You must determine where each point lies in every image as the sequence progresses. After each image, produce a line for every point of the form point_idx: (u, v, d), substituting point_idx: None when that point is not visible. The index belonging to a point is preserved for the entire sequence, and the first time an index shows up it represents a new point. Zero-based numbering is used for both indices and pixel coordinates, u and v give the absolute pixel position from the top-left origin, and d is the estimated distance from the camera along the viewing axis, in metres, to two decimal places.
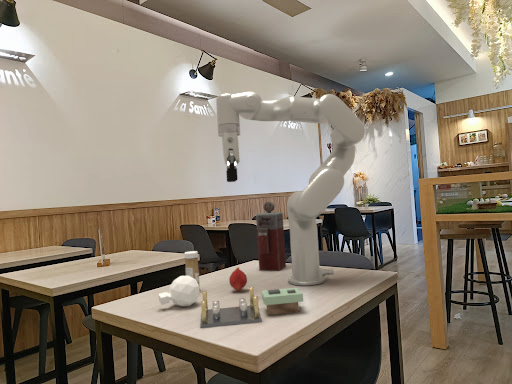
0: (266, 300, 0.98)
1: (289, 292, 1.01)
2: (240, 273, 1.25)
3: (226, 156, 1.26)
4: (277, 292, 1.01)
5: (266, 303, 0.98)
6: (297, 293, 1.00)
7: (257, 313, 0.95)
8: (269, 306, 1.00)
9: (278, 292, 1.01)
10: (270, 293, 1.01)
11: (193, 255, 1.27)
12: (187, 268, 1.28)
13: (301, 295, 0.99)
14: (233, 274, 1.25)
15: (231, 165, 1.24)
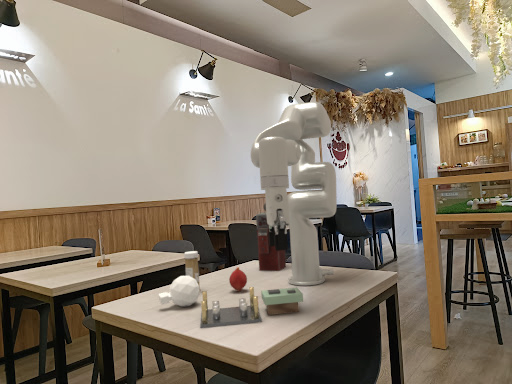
0: (266, 300, 0.98)
1: (289, 292, 1.01)
2: (240, 273, 1.25)
3: (273, 219, 0.97)
4: (277, 292, 1.01)
5: (266, 303, 0.98)
6: (297, 293, 1.00)
7: (257, 313, 0.95)
8: (269, 306, 1.00)
9: (278, 292, 1.01)
10: (270, 293, 1.01)
11: (193, 255, 1.27)
12: (187, 268, 1.28)
13: (301, 295, 0.99)
14: (233, 274, 1.25)
15: (281, 231, 0.96)
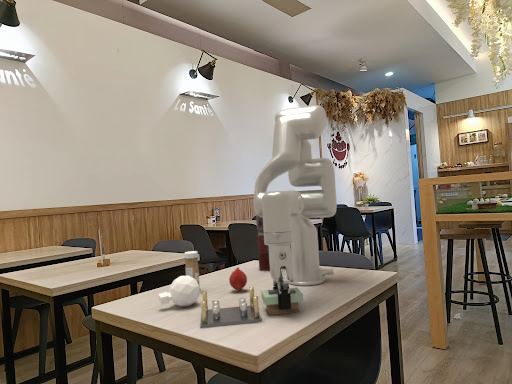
0: (266, 300, 0.98)
1: None
2: (240, 273, 1.25)
3: (277, 276, 0.97)
4: (277, 292, 1.01)
5: (266, 303, 0.98)
6: (297, 293, 1.00)
7: (257, 313, 0.95)
8: (269, 306, 1.00)
9: (278, 292, 1.01)
10: (270, 293, 1.01)
11: (193, 255, 1.27)
12: (187, 268, 1.28)
13: (301, 295, 0.99)
14: (233, 274, 1.25)
15: (284, 292, 0.97)
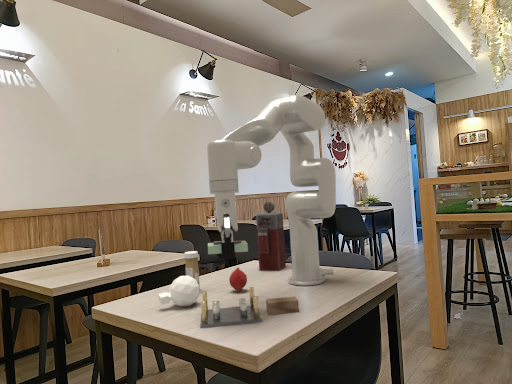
0: (209, 249, 0.96)
1: (234, 242, 0.98)
2: (240, 273, 1.25)
3: (220, 224, 0.95)
4: None
5: (209, 252, 0.96)
6: (242, 243, 0.98)
7: (257, 313, 0.95)
8: (269, 306, 1.00)
9: None
10: (215, 243, 0.98)
11: (193, 255, 1.27)
12: (187, 268, 1.28)
13: (246, 245, 0.97)
14: (233, 274, 1.25)
15: (227, 240, 0.94)
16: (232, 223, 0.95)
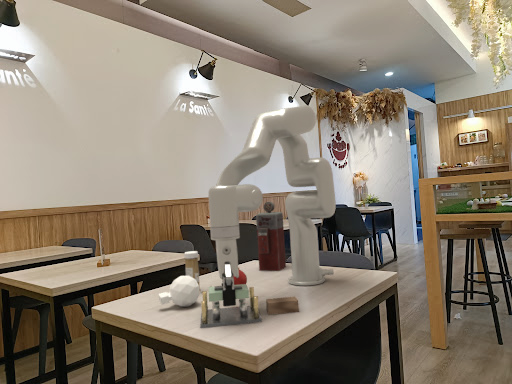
0: (210, 296, 0.96)
1: (235, 288, 0.98)
2: (240, 273, 1.25)
3: (221, 272, 0.95)
4: None
5: (210, 299, 0.96)
6: (243, 289, 0.97)
7: (257, 313, 0.95)
8: (269, 306, 1.00)
9: None
10: (216, 289, 0.98)
11: (193, 255, 1.27)
12: (187, 268, 1.28)
13: (247, 291, 0.97)
14: None
15: (228, 288, 0.94)
16: (233, 271, 0.95)
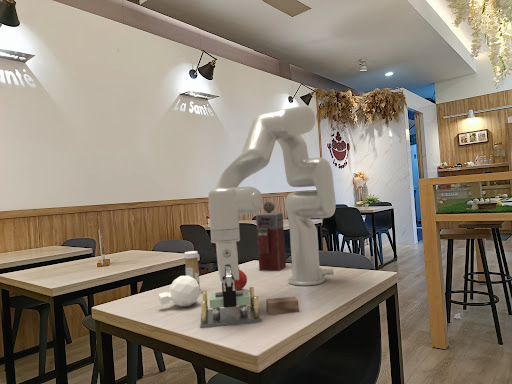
0: (211, 303, 0.96)
1: (236, 295, 0.98)
2: (240, 273, 1.25)
3: (221, 275, 0.95)
4: None
5: (211, 306, 0.96)
6: (244, 296, 0.98)
7: (257, 313, 0.95)
8: (269, 306, 1.00)
9: None
10: (217, 296, 0.98)
11: (193, 255, 1.27)
12: (187, 268, 1.28)
13: (248, 298, 0.97)
14: None
15: (228, 289, 0.93)
16: (233, 273, 0.95)
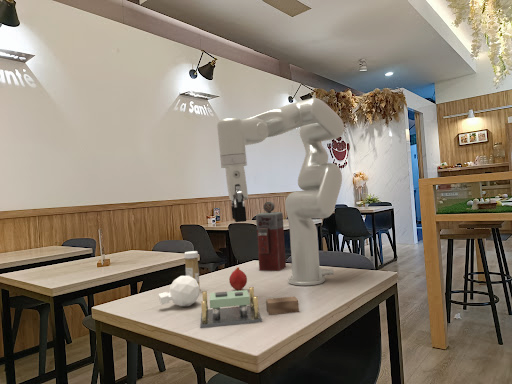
0: (211, 303, 0.96)
1: (236, 295, 0.98)
2: (240, 273, 1.25)
3: (232, 193, 1.07)
4: (224, 295, 0.99)
5: (211, 306, 0.96)
6: (244, 296, 0.98)
7: (257, 313, 0.95)
8: (269, 306, 1.00)
9: (225, 295, 0.99)
10: (217, 296, 0.98)
11: (193, 255, 1.27)
12: (187, 268, 1.28)
13: (248, 298, 0.97)
14: (233, 274, 1.25)
15: (239, 204, 1.05)
16: (243, 192, 1.07)
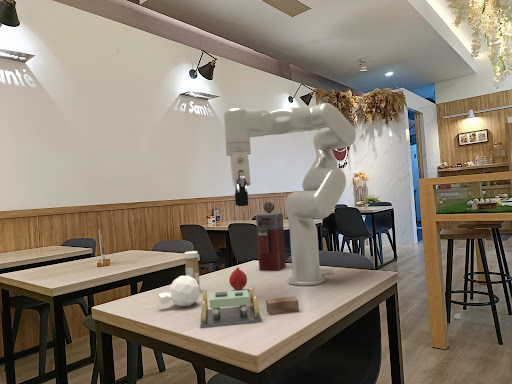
0: (211, 303, 0.96)
1: (236, 295, 0.98)
2: (240, 273, 1.25)
3: (236, 179, 1.12)
4: (224, 295, 0.99)
5: (211, 306, 0.96)
6: (244, 296, 0.98)
7: (257, 313, 0.95)
8: (269, 306, 1.00)
9: (225, 295, 0.99)
10: (217, 296, 0.98)
11: (193, 255, 1.27)
12: (187, 268, 1.28)
13: (248, 298, 0.97)
14: (233, 274, 1.25)
15: (241, 189, 1.11)
16: (246, 178, 1.13)
